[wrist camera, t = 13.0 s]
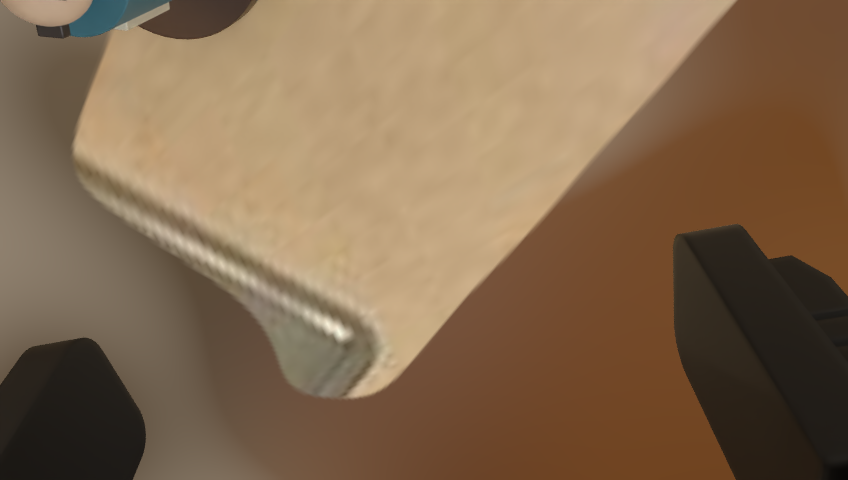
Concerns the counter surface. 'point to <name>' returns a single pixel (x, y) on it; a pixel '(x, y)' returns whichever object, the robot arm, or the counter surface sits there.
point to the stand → (197, 18)
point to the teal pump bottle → (85, 15)
